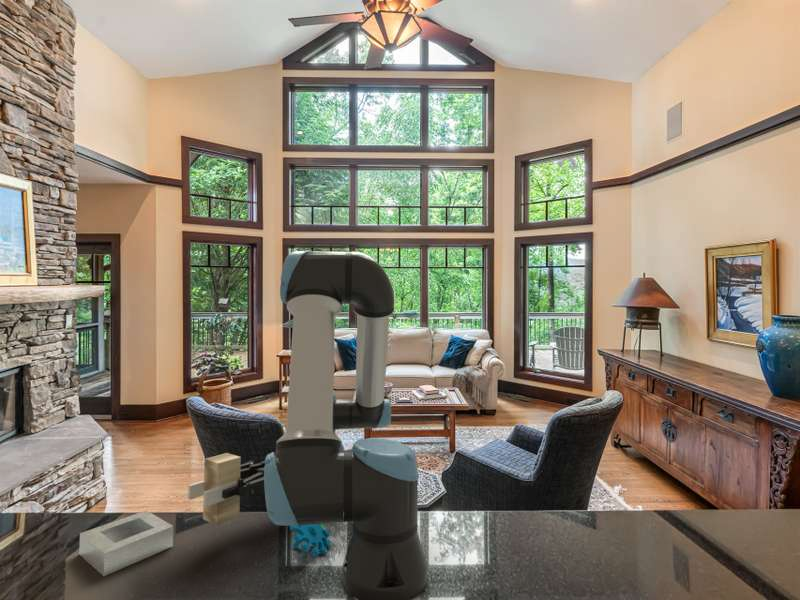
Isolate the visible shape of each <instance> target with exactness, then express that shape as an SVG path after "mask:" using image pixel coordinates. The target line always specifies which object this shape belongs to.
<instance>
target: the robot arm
mask: <svg viewBox="0 0 800 600" xmlns="http://www.w3.org/2000/svg"><path fill="white" fill-rule="evenodd" d="M279 295H280V301H281V302H282V303H284V304H286V309H287V311H288V313H289V314H291V315H292V317H293V321H292V336H291V348H290V349H291V350H290V361H289V362H290V363H289V365H290V366H289V375H288V376H289V378H288V379H289V381H288V391H287V392H288V394H287V395H288V396H287V407H286V408H287V409H286V424H285V432H284V433H283V435H282V436H281V437H279V438H278V440H276V443H275V444H276V445H275V452H274V451H271V452H270V453H268V454H266V457H265V460H264V461H260V462H259V463H255V461H254V460H249V461H248V462H245V463H242V464H241V466H240V480H239V479H238V485H237V482H235V481H234V482H231V483H228V484H225V485H222V486H219V487H216V488H213V489H210V490H207V491H204V480H201V481H198V482H193V483H192V484H188V493H187V495H188V497H187V500H189V501H191V500H194V499H197V498H200V497H203V501H204V507H207V506H210V505H213V504H215V503H218V502H221V501H223V500H226V499H229V498H232V497H234V496H236V495H238V496H240V497H242V496H245V497H247V498H250V497H252V496H255V495H257V494H260V493H264V497H265V498H264V499H265V507H266V511H267V514H268V518H269V520H270V521H271V522H272V523H273V524H274V525H276V526H290V525H296V526H300V525H310V524H324V523H325V524H334V523H336V524H337V523H349V522H350V523H351V522H352V535H351V536H350V541H349V544H348V547H347V550H346V553H345V556H344V559H343V562H342V570H341V571H342V572H341V573H342V576H341V577H342V578H341V579H342V580H341V581H342V585H343V588H344V589H345V591H346V592H347V593H348V594H349V595H350V596H352V597H353V598H355V599H356V600H411V599H413V598H415V597H416V596H418V595H419V594H420V593H422V592H423V590H424V589H425V588H426V585H427V583H428V578H429V577H428V570H429V569H428V567H429V566H428V561H427V558H426V556H425V554H424V550H423V545H422V542H421V538H420V536H419V532H418V531H419V530H418V529H419V528H418V526H419V525H418V512H419V511H418V510H419V509H418V507H419V506H418V504H419V502H418V494H419V493H418V484H419V483H418V480H419V478H420V477H419V472H418V471H419V470H418V459H417V454H416V453H415V451H414V450H413V449H412V448H411V447H409V446H408V445H406V444H405V443H402V442H399V441H397V440H396V441H395V440H392V439H386V438H381V437H380V438H376V437H374V438H373V437H368V438H365V439H364V438H363V439H362V438H360V439H358V440H357V439H356V441H355V442H354V443H353V445H352V447H351V449H350V450H349V449H348V450H346V449H345V447H344V444H343V441H342V439H341V438H340V437H339V436H338V435H337V434H336V430H349V429H350V430H354V429H355V430H359V429H363V430H364V429H375V430H376V429H383V428H387V427H388V428H389V426H390V425H391V423H392V406H391V401H390V399H389V398H385V392H386V390H385V389H386V376H387V375H386V373H387V371H386V370H387V357H388V341H389V327H390V325H389V323H390V316H393V314H394V312H395V293H394V289H393V285H392V283H391V280H390V277H389V276H388V274H387V272H386V271H385V270H384V268H383V267H382V266H381V264H380V263H379V262H378V261H377V260H375V258H373V257H372V256H370V255H368V254H365V253H363V252H359V251H312V250H309V249H307V250H296V251H292V252H290V253H289V254H288V255H287V256H286V258H285V260H284V261H283V265H282V269H281V275H280V285H279ZM343 304H344V305H346V304H347V305H348V304H349V305H350V304H352V305H353V306H352V311H353V313H354V314H355V315H357V316H356V317H357V318H356V358H355V359H356V360H355V361H356V362H355V399H337V397H336V394H335V392H334V387H335V386H334V383H335V382H334V381H335V380H334V379H335V378H334V377H335V329H336V327H335V325H336V323H335V319H336V317H337V316H338V315H339V314H340V313H342V310H343Z"/></svg>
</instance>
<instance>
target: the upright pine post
mask: <svg viewBox="0 0 800 600" xmlns="http://www.w3.org/2000/svg"><path fill="white" fill-rule="evenodd" d="M241 459H242V457H241V456H239V455H235V454H232V453H228V452H225V453H221V454H218V455H215V456H214V455H213V456H211V457H210V456H209V457H207V458H204V472H203V481H204V491H207V490H210V489H213V488H216V487H219V486H222V485H225V484H228V483H231V482H234V481H235V482H237V485H238V479H239V480H240V466H241V465H242V464H241V462H242V461H241ZM240 498H241V496H238V495H236V496H234V497H232V498H229V499H226V500H223V501H221V502H218V503H215V504H213V505H210V506H207V507H204V500H203V502H202V503H203V504H202V507H203V509H202V510H203V511H202V520H204V521H206V522H208V523H210V524H212V525H214V526H216V527H217V526H220V525H221V524H224V523H226V522H229V521H231V520H234V519H236V518H238V517H240V506H241V504H240V503H241V499H240Z"/></svg>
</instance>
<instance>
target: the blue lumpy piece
mask: <svg viewBox="0 0 800 600" xmlns="http://www.w3.org/2000/svg"><path fill="white" fill-rule="evenodd" d="M325 526H326V523H324V524H310V525H300V526H296V525H289V530H290V531H291V532H296V534H295V535H294V537H293V540H294V542H293V543H292V548H294V549H297V547H299V545H301V544H302V543H303V542H305V543H304V544H303V545H302V546H301V549H302V550H303V551H304V552H305V553H307V552H309V550H310V549H311V546H312V547H313V549H312V550H311V552H310V553H311V555H312V556H314V557H317V556H318V555H319V554H320V555H324V554H325V553H326V552H327V551H328V549H327V548H328V547H329V546H331V544H332V542H331V540H330V539H329V538H328V537H330V534H331V531H330V530H329V529H327V528H326V529H325Z"/></svg>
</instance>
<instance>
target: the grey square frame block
mask: <svg viewBox="0 0 800 600" xmlns="http://www.w3.org/2000/svg"><path fill="white" fill-rule="evenodd" d="M173 547H174V525H172V524H171V523H169V522H167V521H165V520H164V519H162V518H160V517H159V516H157V515H155V514H153V513H152V512H150V511H148V510H143V511H141V512H137V513H135V514H132V515H129V516H126V517H123V518H121V519H117V520H114V521H111V522H108V523H106V524H103V525H100V526H98V527H97V526H96V527H94V528H91V529H89V530H85V531H83V532H80V533H79V551H78V552H79V553H78V555H79V556H80V557H82V558H83V559H84V560H85V561H86V562H87V563H88V564H89V565H91V566H92V567H93V568H94V569H95V570H96V571H97V572H98V573H99V574H100V575H101V576H103V577H106V576H107V575H108V576H109V575H110V574H113V573H114V572H115V573H116V572H118V571H119V570H121V569H122V570H123V569H125V568H126V567H129V566H131V565H133V564H136V563H138V562H141V561H143V560H144V559H148V558H149V557H152V556H154V555H157V554H158V553H161V552H163V551H166V550H169V549H170V548H173Z"/></svg>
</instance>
